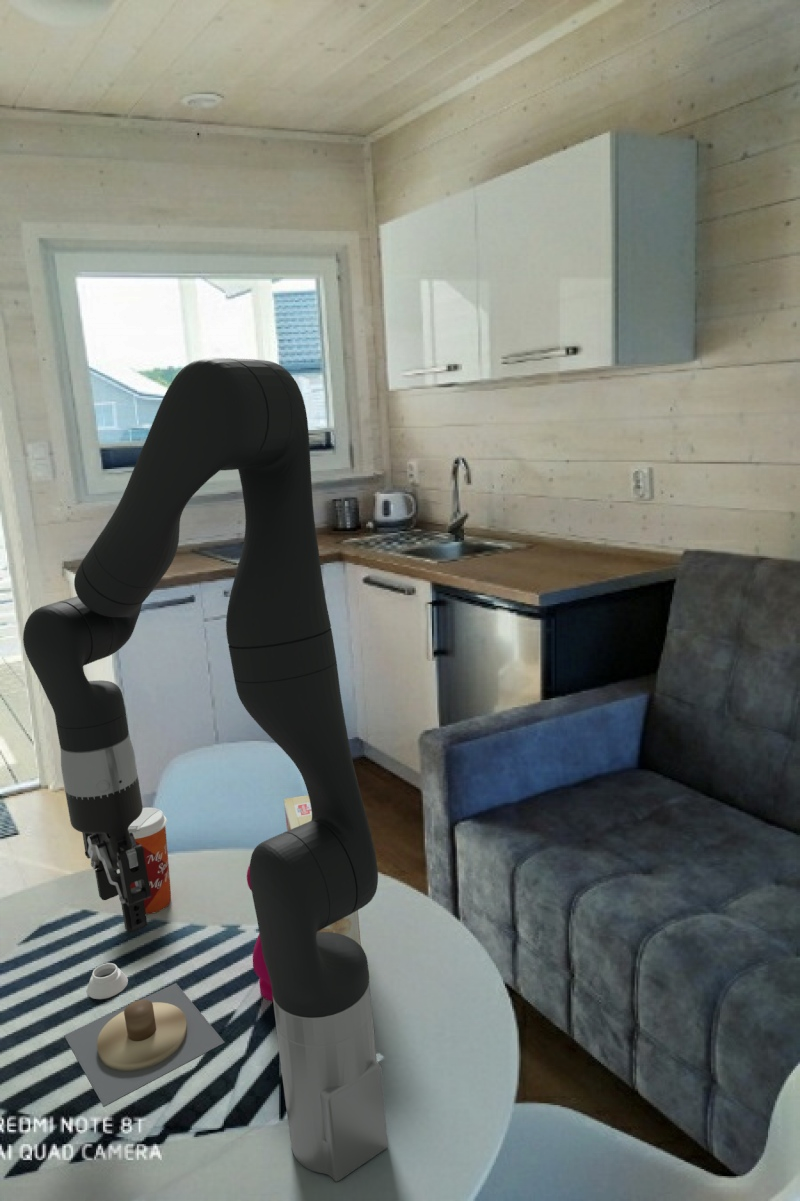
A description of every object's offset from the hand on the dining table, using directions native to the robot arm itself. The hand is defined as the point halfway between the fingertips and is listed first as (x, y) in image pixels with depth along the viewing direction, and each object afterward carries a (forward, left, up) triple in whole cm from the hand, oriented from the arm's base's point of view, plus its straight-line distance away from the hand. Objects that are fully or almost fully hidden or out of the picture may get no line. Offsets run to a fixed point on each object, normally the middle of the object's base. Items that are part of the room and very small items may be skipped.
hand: (123, 912), depth 99 cm
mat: (0, 0, -17) cm, 17 cm away
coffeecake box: (0, -25, -17) cm, 31 cm away
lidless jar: (+13, 0, -18) cm, 22 cm away
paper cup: (+28, -12, -17) cm, 35 cm away
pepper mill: (-3, -17, -17) cm, 25 cm away
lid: (0, 0, -17) cm, 17 cm away
